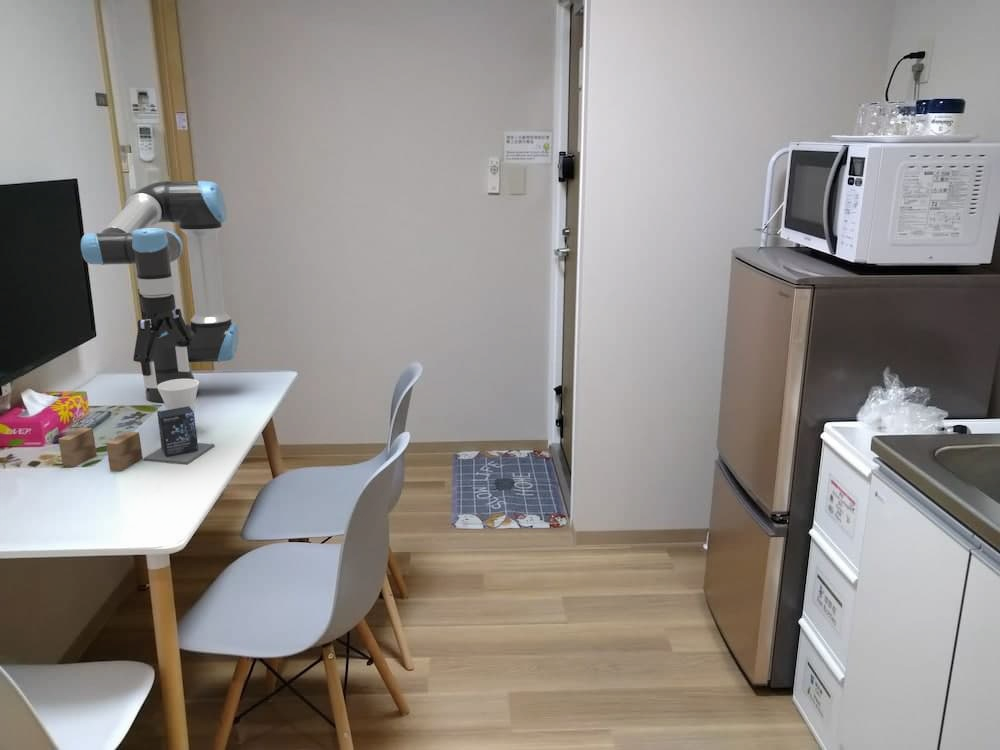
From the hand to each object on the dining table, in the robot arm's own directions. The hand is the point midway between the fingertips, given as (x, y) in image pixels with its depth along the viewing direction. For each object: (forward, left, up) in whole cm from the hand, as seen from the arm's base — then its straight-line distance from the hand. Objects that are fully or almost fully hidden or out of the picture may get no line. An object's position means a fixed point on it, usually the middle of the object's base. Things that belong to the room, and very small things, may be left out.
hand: (168, 379), depth 189 cm
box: (+1, +1, -19) cm, 19 cm away
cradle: (+10, -14, -19) cm, 26 cm away
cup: (-13, -7, -19) cm, 24 cm away
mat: (+1, +1, -19) cm, 19 cm away
